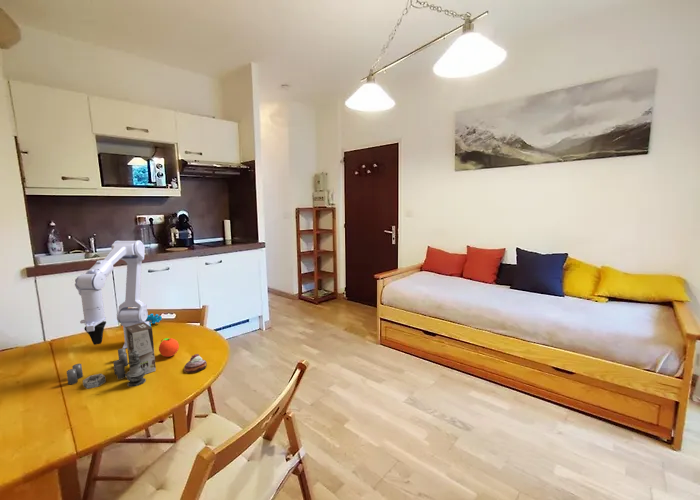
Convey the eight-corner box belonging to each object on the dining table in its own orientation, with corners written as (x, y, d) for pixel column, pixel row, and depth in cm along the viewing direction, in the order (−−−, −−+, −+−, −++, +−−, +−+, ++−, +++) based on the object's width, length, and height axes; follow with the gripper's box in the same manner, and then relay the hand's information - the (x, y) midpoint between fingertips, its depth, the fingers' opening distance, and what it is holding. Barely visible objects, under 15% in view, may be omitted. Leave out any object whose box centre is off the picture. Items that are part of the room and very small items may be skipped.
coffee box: (156, 370, 117) (152, 327, 115) (136, 377, 113) (131, 333, 110) (148, 362, 124) (144, 321, 121) (129, 368, 119) (124, 326, 116)
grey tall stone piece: (124, 389, 106) (120, 354, 104) (127, 380, 111) (123, 347, 109) (146, 384, 109) (142, 350, 107) (147, 376, 114) (144, 343, 112)
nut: (107, 378, 113) (106, 372, 112) (104, 386, 108) (103, 379, 108) (85, 382, 110) (84, 376, 110) (81, 390, 105) (80, 384, 105)
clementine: (153, 357, 127) (151, 340, 126) (169, 350, 133) (167, 333, 132) (168, 361, 124) (166, 343, 123) (183, 353, 130) (182, 336, 129)
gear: (165, 319, 163) (157, 310, 155) (164, 330, 160) (156, 321, 152) (141, 324, 161) (131, 315, 153) (139, 335, 158) (130, 327, 150)
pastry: (201, 361, 125) (200, 348, 124) (211, 367, 120) (210, 354, 119) (179, 369, 118) (178, 356, 118) (190, 376, 114) (189, 363, 113)
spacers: (131, 357, 127) (130, 346, 126) (125, 378, 112) (123, 366, 112) (78, 367, 120) (76, 355, 119) (63, 390, 105) (62, 378, 104)
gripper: (84, 302, 119) (88, 338, 121) (72, 315, 106) (78, 354, 109) (107, 300, 122) (111, 334, 124) (99, 311, 110) (104, 350, 112)
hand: (97, 343), depth 117 cm, fingers closed
